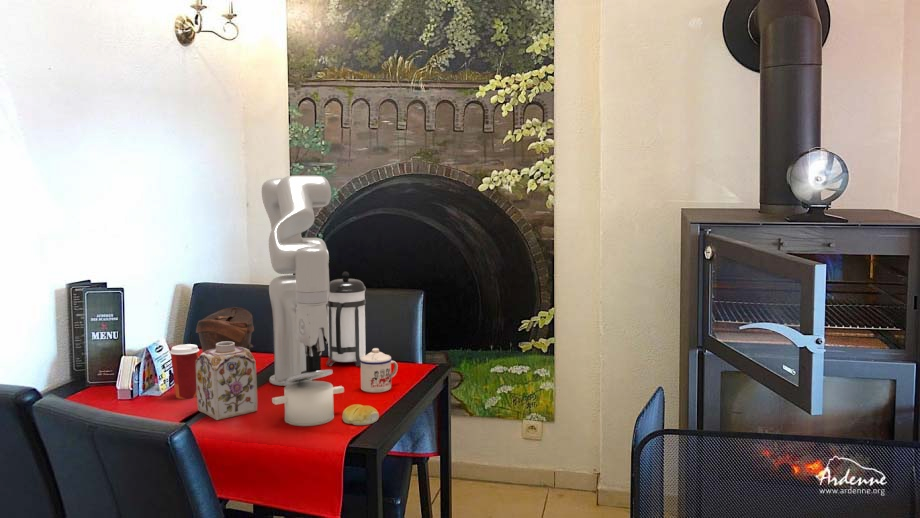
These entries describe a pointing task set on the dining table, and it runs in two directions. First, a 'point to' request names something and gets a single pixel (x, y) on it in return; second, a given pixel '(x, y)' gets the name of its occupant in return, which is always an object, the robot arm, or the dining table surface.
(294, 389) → the pot
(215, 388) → the decorative jar
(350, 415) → the bread roll
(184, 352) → the paper cup
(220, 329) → the case
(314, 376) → the lid
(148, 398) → the dining table surface
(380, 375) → the teacup with lid
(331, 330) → the coffee press
